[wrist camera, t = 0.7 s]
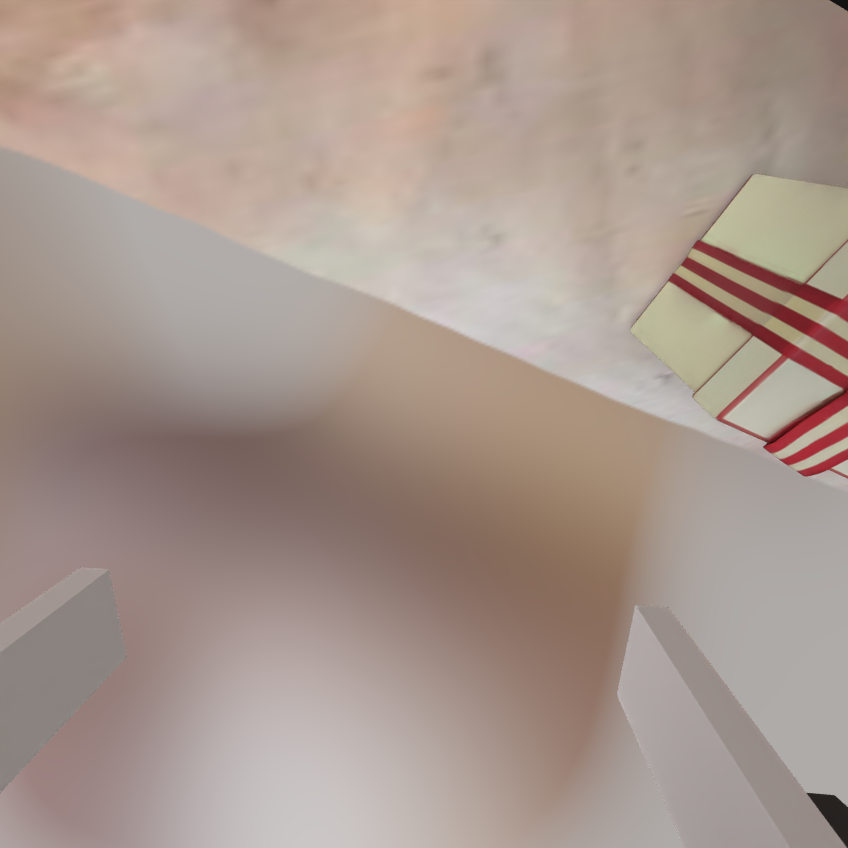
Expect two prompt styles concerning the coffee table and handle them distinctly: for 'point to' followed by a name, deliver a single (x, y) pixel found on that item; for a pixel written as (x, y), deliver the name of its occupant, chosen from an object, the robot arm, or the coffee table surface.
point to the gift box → (766, 320)
